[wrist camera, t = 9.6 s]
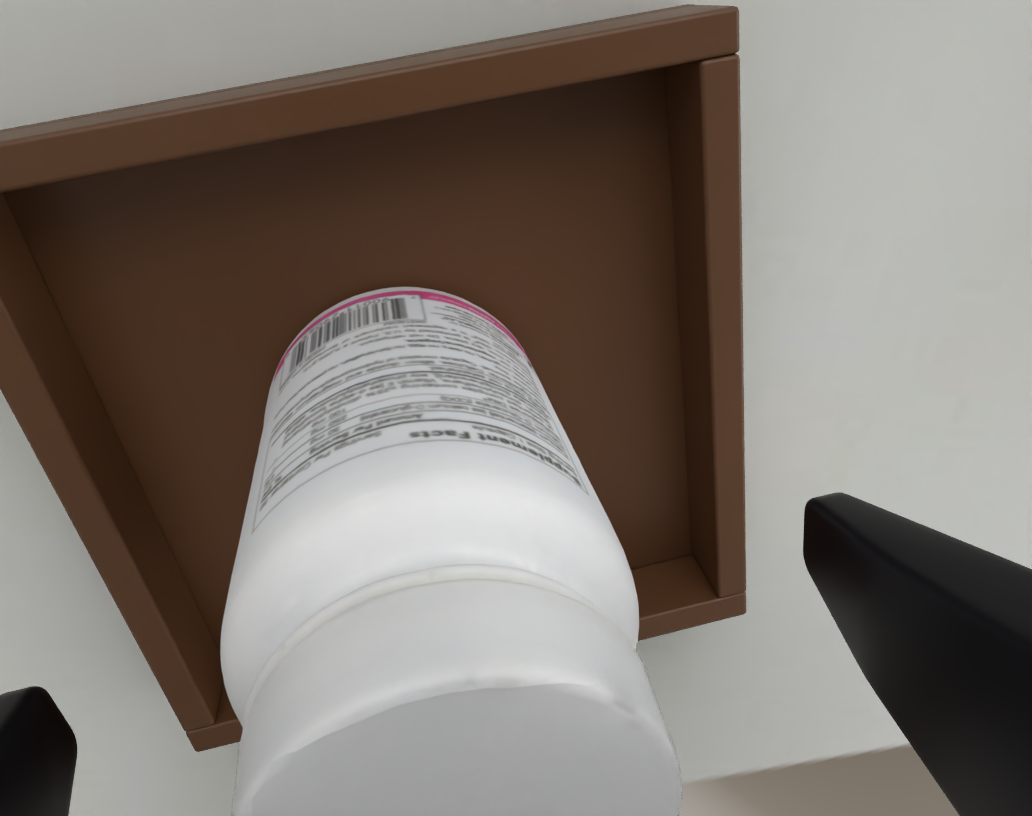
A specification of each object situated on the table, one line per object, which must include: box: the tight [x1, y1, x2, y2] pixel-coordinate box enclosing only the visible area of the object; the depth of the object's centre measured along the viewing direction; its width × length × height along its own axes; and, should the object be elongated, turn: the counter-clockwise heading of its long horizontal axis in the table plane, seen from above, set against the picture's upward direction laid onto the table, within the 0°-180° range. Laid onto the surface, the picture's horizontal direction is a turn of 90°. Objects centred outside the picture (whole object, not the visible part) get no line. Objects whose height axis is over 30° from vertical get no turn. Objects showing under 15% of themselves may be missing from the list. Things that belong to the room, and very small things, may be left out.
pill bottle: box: [220, 287, 682, 816], centre depth 10 cm, size 5×5×8 cm
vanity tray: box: [0, 4, 746, 752], centre depth 14 cm, size 11×11×2 cm
